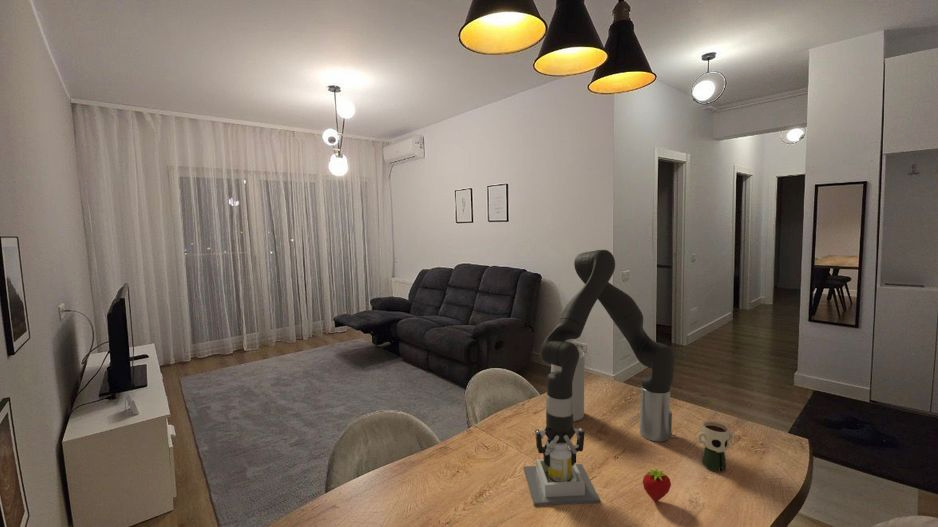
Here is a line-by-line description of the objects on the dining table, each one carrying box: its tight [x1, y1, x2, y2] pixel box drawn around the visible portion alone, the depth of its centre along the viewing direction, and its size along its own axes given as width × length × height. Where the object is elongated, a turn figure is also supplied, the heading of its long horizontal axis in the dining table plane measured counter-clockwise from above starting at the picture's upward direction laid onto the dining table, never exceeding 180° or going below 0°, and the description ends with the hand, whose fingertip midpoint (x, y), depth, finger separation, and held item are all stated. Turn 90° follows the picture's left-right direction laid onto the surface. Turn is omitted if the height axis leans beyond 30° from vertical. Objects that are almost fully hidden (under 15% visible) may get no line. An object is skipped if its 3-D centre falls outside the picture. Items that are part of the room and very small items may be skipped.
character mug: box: [697, 420, 734, 472], centre depth 122 cm, size 11×7×13 cm, turn 94°
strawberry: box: [642, 467, 672, 502], centre depth 108 cm, size 6×8×10 cm
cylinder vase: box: [550, 349, 585, 423], centre depth 156 cm, size 12×12×25 cm
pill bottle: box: [549, 443, 572, 482], centre depth 115 cm, size 6×6×12 cm
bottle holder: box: [523, 458, 601, 506], centre depth 116 cm, size 18×16×4 cm
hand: (559, 464), depth 115 cm, fingers closed on pill bottle, 6 cm apart
